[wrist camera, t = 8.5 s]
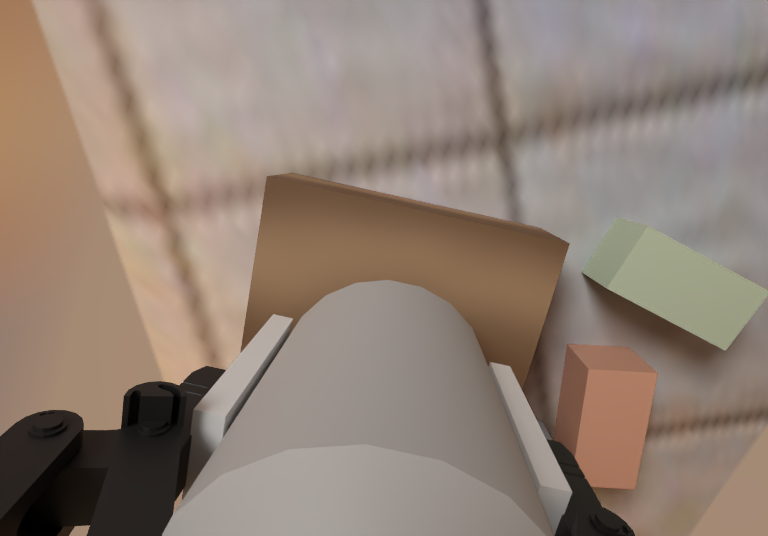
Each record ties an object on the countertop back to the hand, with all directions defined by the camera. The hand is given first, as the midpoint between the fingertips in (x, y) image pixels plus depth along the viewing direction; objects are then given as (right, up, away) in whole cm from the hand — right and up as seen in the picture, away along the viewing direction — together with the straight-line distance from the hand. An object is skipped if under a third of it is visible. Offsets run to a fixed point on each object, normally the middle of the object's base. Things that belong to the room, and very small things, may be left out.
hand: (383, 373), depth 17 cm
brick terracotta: (+11, -3, +7) cm, 13 cm away
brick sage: (+13, +4, +5) cm, 14 cm away
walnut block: (0, +1, +6) cm, 6 cm away
